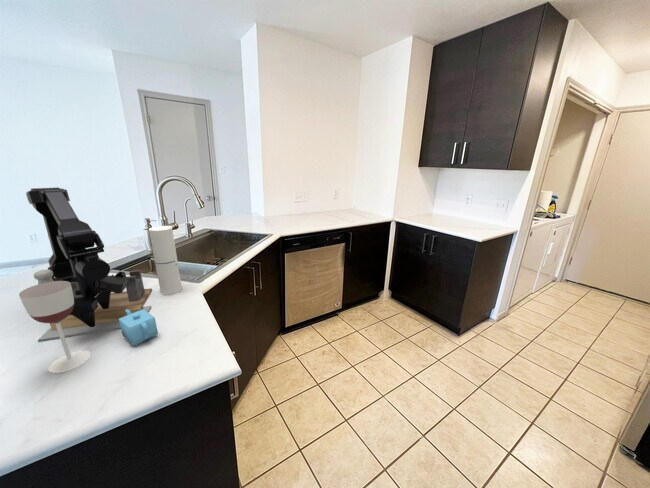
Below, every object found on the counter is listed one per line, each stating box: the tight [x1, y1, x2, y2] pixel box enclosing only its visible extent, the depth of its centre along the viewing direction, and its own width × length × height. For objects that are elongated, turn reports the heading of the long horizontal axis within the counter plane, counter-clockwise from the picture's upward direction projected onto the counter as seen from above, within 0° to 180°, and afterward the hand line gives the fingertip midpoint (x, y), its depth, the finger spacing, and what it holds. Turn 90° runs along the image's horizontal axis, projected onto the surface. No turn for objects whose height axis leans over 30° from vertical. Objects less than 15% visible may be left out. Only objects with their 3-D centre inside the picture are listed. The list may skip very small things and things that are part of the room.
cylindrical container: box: [148, 225, 183, 296], centre depth 95 cm, size 7×7×25 cm
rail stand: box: [70, 269, 153, 311], centre depth 88 cm, size 12×22×10 cm, turn 110°
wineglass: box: [18, 281, 91, 374], centre depth 60 cm, size 8×9×20 cm
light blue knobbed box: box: [119, 309, 159, 346], centre depth 72 cm, size 12×6×8 cm, turn 56°
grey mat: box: [37, 305, 152, 343], centre depth 78 cm, size 11×24×1 cm, turn 110°
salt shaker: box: [33, 268, 54, 285], centre depth 85 cm, size 6×6×13 cm
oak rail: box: [49, 304, 144, 330], centre depth 78 cm, size 3×22×3 cm, turn 110°
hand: (100, 317), depth 78 cm, fingers open, 9 cm apart
